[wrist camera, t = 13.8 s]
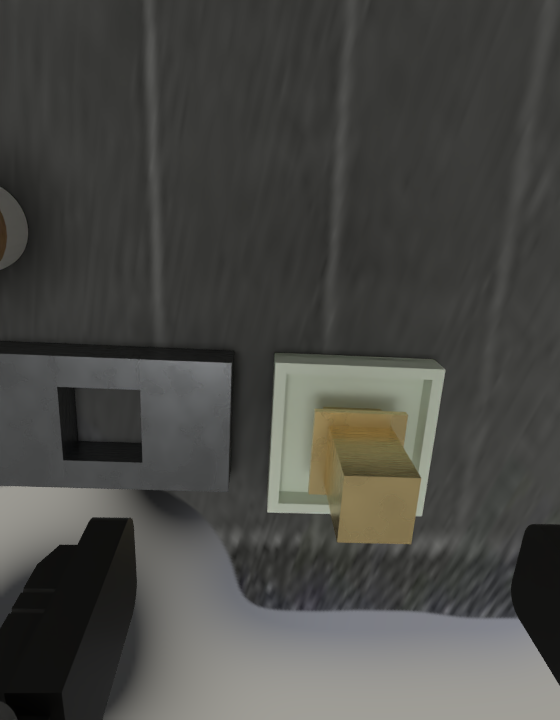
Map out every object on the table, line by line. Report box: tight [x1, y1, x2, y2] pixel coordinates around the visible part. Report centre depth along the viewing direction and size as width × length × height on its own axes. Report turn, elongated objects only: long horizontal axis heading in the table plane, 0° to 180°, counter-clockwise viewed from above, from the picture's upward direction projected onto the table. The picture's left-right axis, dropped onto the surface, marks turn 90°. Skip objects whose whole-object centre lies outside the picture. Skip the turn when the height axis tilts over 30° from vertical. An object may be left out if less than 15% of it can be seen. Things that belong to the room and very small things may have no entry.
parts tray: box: [267, 353, 445, 516], centre depth 38 cm, size 12×12×2 cm
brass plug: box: [308, 407, 421, 544], centre depth 33 cm, size 6×6×10 cm
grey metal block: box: [0, 341, 234, 492], centre depth 36 cm, size 10×18×3 cm, turn 87°
